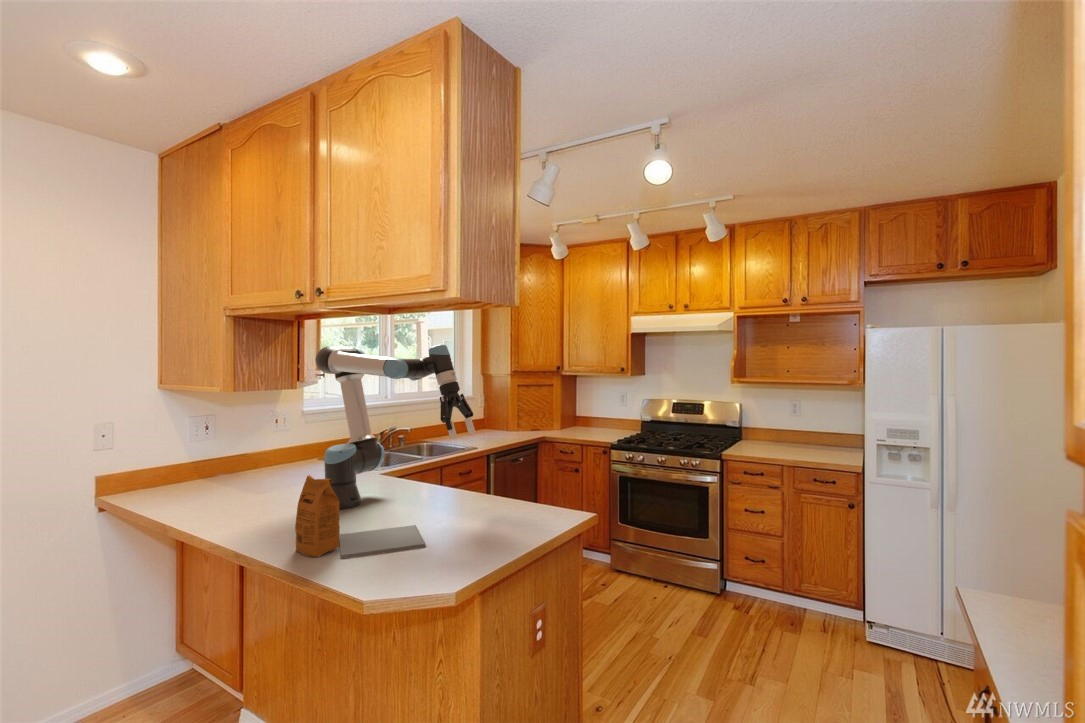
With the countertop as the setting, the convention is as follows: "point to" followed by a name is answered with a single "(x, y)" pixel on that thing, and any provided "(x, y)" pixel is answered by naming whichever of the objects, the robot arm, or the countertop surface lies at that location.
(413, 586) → the countertop surface
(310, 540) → the coffee package
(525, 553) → the countertop surface
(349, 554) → the topple mat
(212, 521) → the countertop surface
